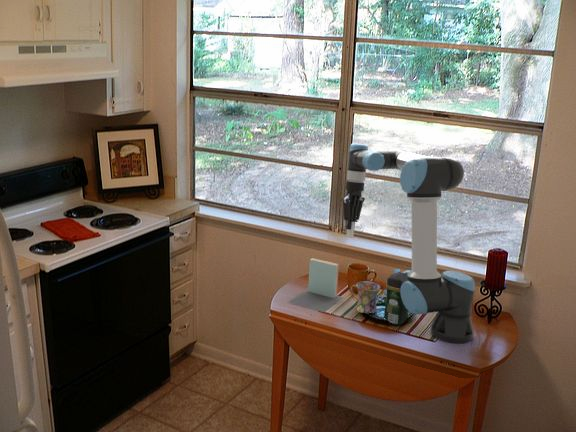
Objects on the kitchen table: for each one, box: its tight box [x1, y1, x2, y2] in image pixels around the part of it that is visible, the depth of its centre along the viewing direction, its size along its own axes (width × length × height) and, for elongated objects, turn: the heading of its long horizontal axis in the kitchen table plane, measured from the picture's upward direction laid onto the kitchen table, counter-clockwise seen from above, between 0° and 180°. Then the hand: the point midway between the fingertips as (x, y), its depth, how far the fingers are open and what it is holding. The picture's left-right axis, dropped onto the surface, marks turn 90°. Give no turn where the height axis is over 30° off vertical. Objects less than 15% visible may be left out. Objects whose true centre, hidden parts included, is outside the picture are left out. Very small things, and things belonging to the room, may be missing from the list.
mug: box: [350, 280, 381, 314], centre depth 254 cm, size 12×9×11 cm
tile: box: [307, 257, 340, 298], centre depth 265 cm, size 2×12×14 cm, turn 61°
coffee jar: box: [383, 271, 409, 326], centre depth 245 cm, size 10×8×19 cm
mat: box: [287, 288, 345, 313], centre depth 261 cm, size 18×16×1 cm
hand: (349, 236), depth 275 cm, fingers closed
